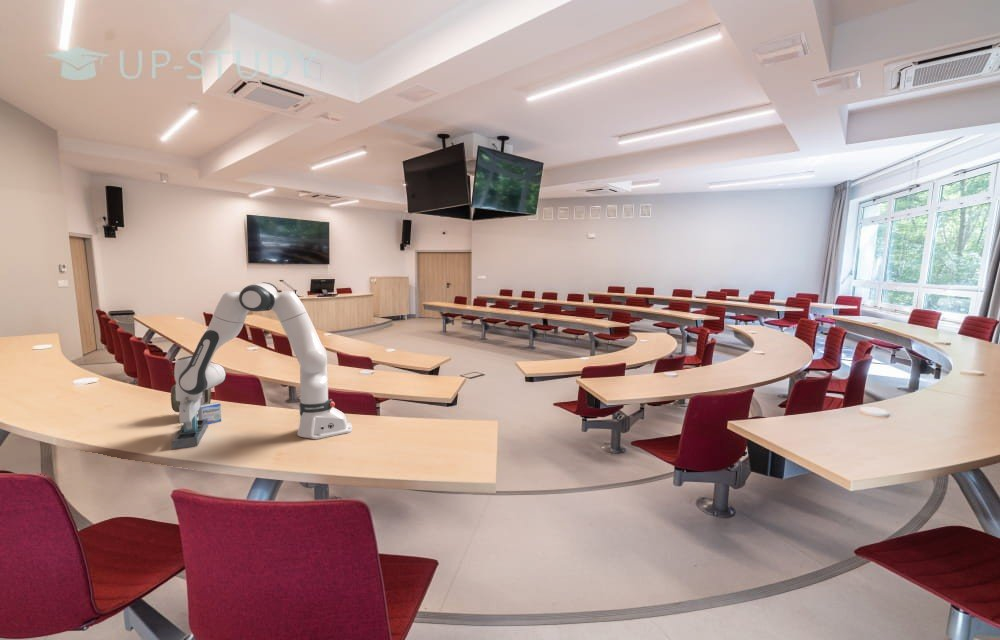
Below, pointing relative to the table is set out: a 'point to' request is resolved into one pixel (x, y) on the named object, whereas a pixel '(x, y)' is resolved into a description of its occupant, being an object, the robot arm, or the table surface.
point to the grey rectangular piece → (190, 436)
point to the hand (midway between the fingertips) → (190, 426)
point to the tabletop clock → (176, 404)
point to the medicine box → (210, 412)
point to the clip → (194, 425)
